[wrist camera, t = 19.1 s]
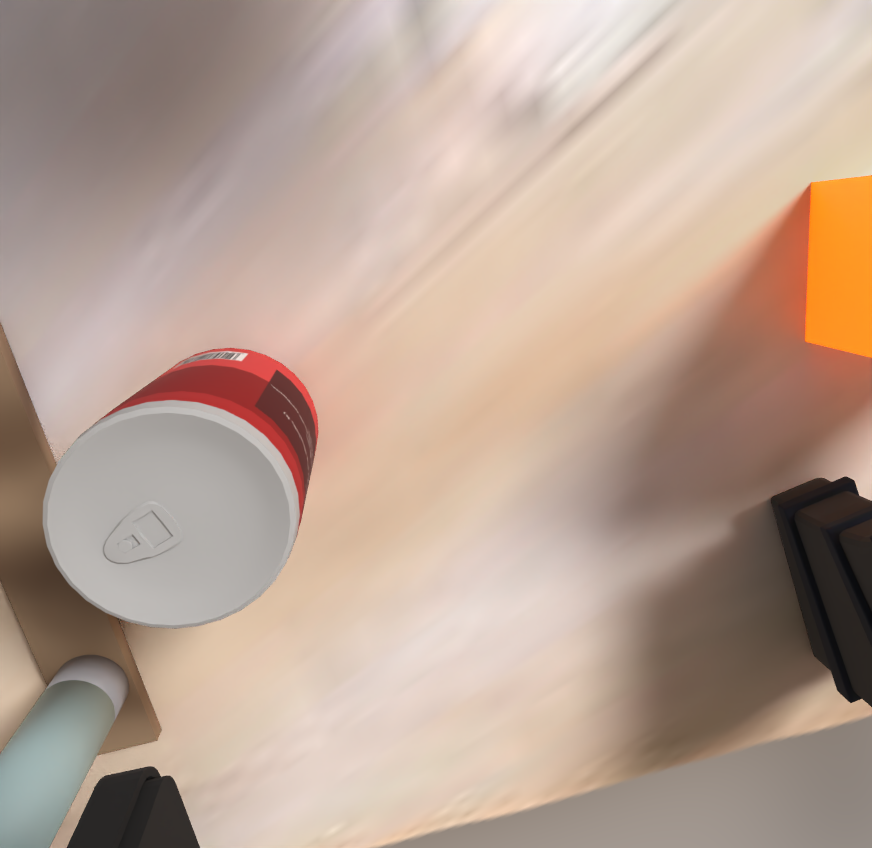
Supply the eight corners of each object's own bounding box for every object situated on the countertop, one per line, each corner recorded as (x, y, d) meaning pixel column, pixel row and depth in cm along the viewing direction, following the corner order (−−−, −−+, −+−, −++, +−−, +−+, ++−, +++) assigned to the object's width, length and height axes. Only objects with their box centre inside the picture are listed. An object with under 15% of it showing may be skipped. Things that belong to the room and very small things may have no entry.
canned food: (112, 433, 32) (-14, 537, 21) (225, 307, 30) (151, 349, 20) (243, 534, 34) (188, 674, 23) (353, 418, 32) (347, 510, 22)
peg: (44, 664, 33) (-85, 837, 24) (115, 647, 34) (15, 812, 24) (70, 722, 34) (-44, 911, 25) (138, 705, 35) (52, 886, 25)
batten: (-93, 340, 30) (-105, 343, 29) (-1, 320, 30) (-11, 322, 29) (86, 748, 36) (80, 759, 35) (161, 729, 36) (157, 740, 35)
